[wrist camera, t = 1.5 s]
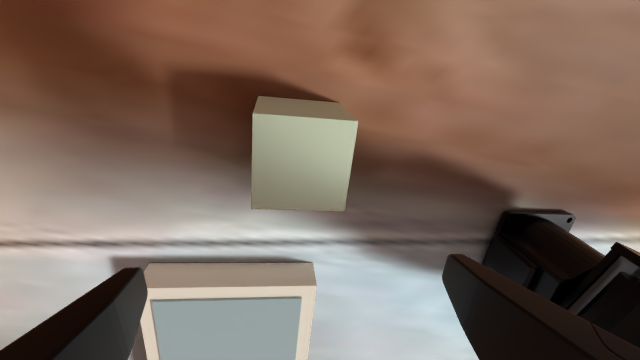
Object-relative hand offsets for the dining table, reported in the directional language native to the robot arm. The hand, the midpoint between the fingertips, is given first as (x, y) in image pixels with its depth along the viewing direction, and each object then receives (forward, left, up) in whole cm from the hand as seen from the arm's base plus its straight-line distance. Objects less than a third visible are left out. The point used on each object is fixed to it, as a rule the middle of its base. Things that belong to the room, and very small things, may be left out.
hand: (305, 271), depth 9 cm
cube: (-1, -1, -12) cm, 12 cm away
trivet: (+3, +15, -12) cm, 20 cm away
